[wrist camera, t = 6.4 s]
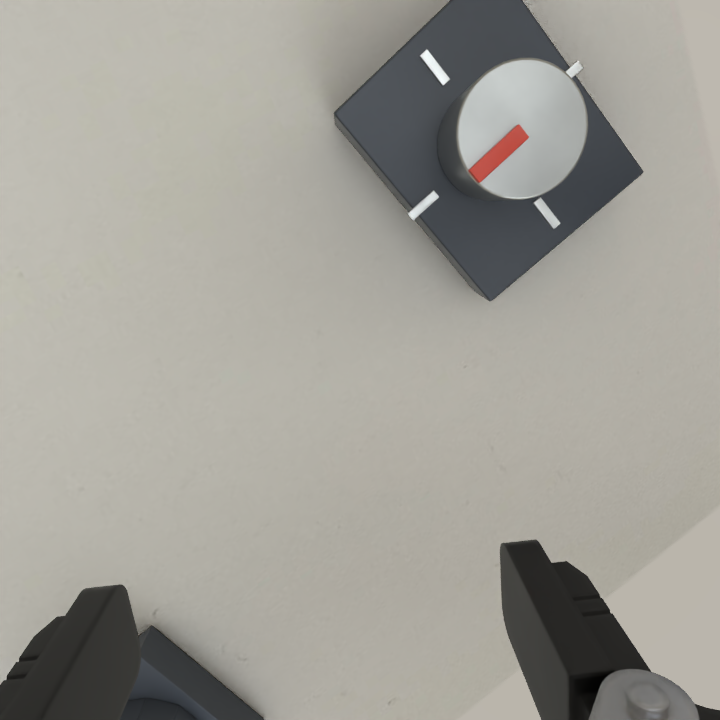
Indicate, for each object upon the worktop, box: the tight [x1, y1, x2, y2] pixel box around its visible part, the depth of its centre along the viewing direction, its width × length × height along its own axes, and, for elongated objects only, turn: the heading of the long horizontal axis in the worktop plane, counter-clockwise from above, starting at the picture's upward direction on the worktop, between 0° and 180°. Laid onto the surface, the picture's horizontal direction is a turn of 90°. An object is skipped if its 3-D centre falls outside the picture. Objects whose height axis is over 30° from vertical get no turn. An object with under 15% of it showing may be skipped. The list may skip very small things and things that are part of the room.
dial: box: [438, 58, 588, 201], centre depth 21 cm, size 4×4×4 cm
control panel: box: [334, 0, 643, 301], centre depth 24 cm, size 10×9×3 cm
